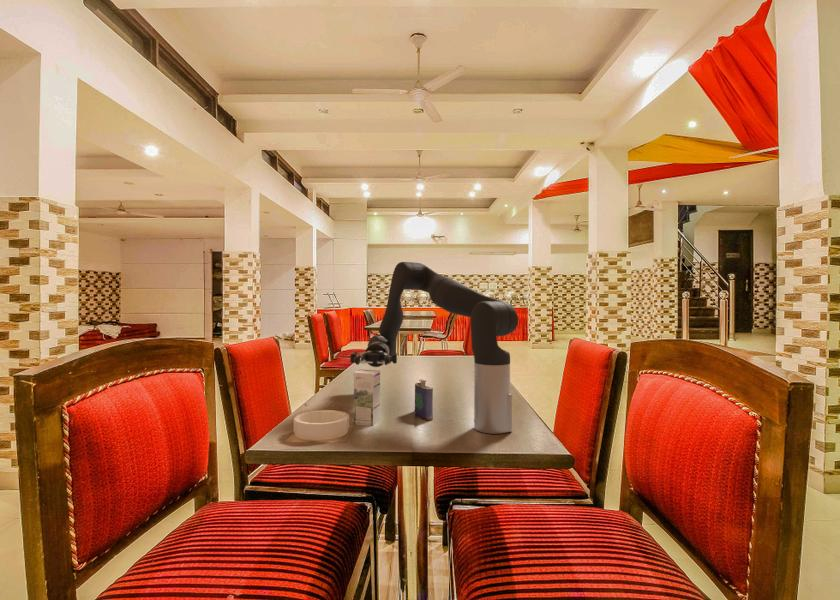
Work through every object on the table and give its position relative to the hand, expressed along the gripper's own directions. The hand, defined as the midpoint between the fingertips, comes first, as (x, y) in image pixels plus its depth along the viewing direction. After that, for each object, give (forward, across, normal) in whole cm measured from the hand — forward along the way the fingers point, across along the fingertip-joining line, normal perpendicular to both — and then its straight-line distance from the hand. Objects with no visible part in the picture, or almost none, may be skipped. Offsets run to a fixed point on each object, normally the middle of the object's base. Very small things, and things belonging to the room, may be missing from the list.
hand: (371, 361), depth 132 cm
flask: (+4, +15, +15) cm, 22 cm away
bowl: (+22, -10, +15) cm, 28 cm away
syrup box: (+12, 0, +15) cm, 19 cm away
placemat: (+22, -10, +15) cm, 28 cm away
